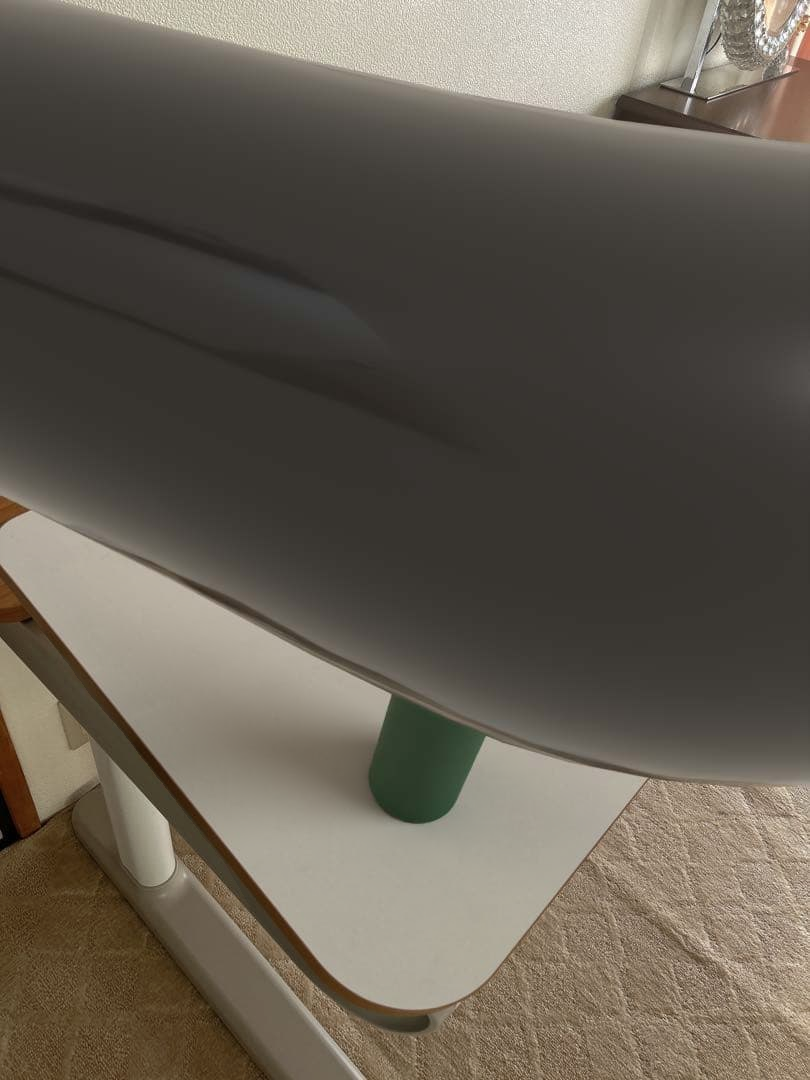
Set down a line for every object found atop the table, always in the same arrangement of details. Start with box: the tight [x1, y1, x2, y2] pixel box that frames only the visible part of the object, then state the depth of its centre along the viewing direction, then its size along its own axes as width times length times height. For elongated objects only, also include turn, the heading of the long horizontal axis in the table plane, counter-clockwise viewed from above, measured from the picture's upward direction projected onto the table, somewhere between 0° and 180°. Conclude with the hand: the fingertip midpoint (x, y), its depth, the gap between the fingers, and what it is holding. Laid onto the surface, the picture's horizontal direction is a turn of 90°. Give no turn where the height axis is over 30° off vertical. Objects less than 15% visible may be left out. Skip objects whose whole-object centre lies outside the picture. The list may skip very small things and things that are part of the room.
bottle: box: [367, 694, 487, 824], centre depth 55 cm, size 6×6×18 cm
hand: (548, 542), depth 44 cm, fingers open, 8 cm apart
